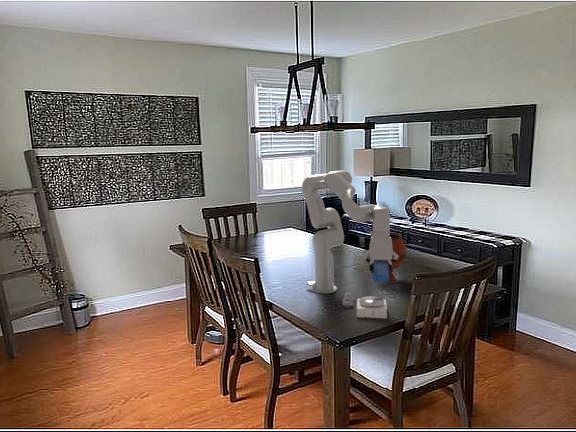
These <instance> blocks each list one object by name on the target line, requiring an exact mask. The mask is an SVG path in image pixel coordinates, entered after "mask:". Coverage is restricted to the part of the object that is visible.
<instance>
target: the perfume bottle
mask: <svg viewBox="0 0 576 432" xmlns="http://www.w3.org/2000/svg"><path fill="white" fill-rule="evenodd" d="M371 278H372V279H373V281H374V282H390V281H389V267H388V265H387V263H386V261H385V260H375V261H374V262H373V273H371Z"/></svg>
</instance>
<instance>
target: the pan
mask: <svg viewBox="0 0 576 432" xmlns="http://www.w3.org/2000/svg"><path fill="white" fill-rule="evenodd" d="M383 299H384V298H382V297H379V296H376V295H375V296H374V295H368V296H367V295H366V296H362V297H360V300H359V302H360V303H361V304H362V305H365V306H371V307H375V306H381V305H383V304H384V300H383Z"/></svg>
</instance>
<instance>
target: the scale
mask: <svg viewBox="0 0 576 432" xmlns="http://www.w3.org/2000/svg"><path fill="white" fill-rule="evenodd" d="M360 298H361V297H360ZM360 298H357V303H356V318H365V317H366V319H368V318H370V319H388V318H387V317H388V308H387V299H386V298H385V299H384V298H382V299H383V300H384V304H383V305H381V306H375V307H371V306H365V305H362V304H361V303H360V302H359V300H360Z"/></svg>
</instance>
